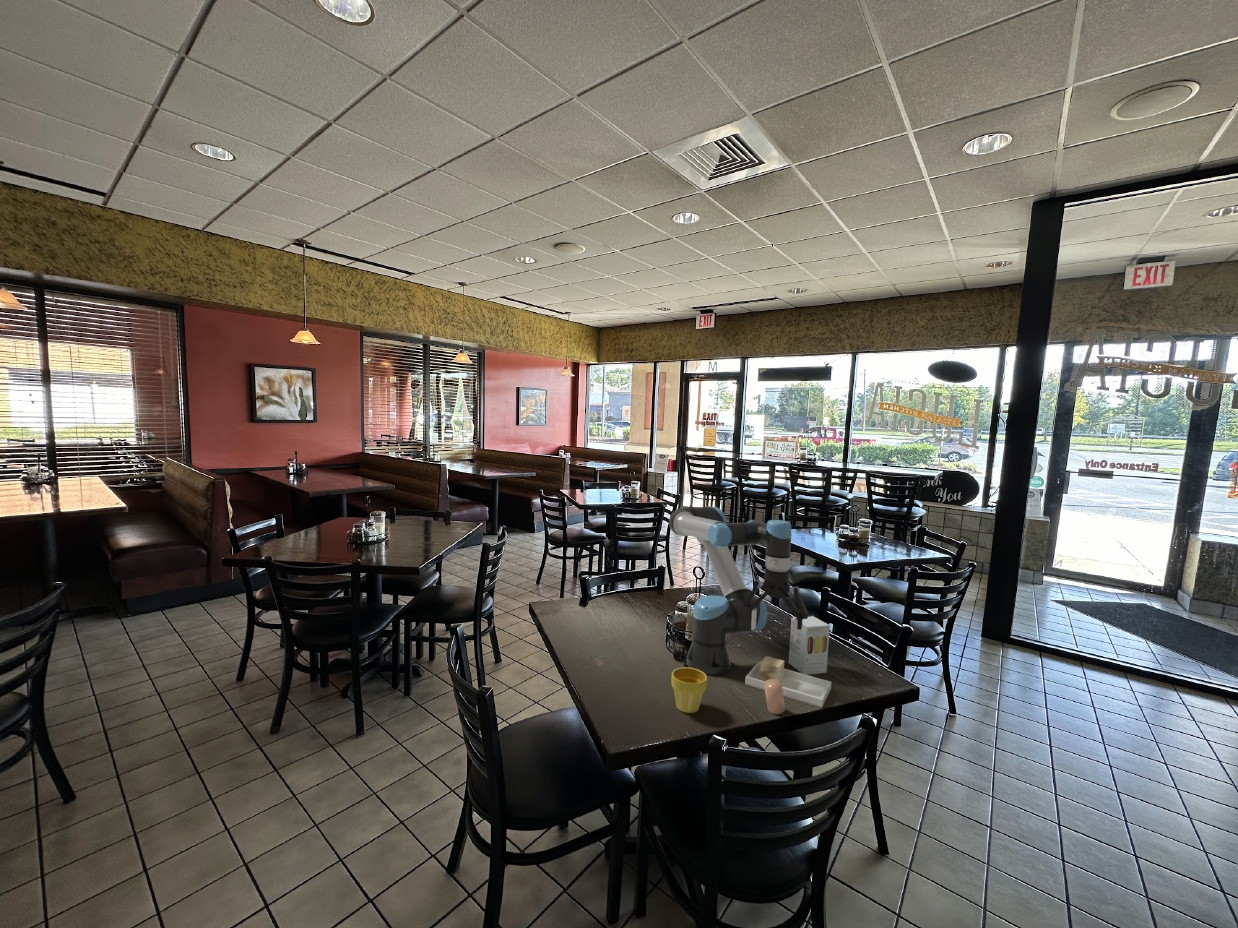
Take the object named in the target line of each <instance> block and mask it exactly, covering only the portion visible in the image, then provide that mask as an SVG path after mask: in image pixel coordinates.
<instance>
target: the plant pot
mask: <svg viewBox="0 0 1238 928" xmlns="http://www.w3.org/2000/svg"><path fill="white" fill-rule="evenodd" d="M670 677H671V682H670V683H671V686H672V688H673V692H674V698H675V705H676V709H678V710H679V711H681V712H682V713H686V714H694V713H697V712H698V711H699V710H700V706H701V702H702V699H703V694H704V692H705V691H706V690H707V687H708V686H707V685H708V676H707V674H705V673H704V672H702V671H700V670H698V669H695V668H690V667H689V666H688V667H684V666H683V667H677V668H676V669H674V670H673V671H672V672H671V676H670Z"/></svg>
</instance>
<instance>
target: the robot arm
mask: <svg viewBox="0 0 1238 928" xmlns="http://www.w3.org/2000/svg"><path fill="white" fill-rule="evenodd" d="M766 522H767V523H766ZM766 522H763V521H760V520H754V519H750V520H749V521H747V522H727V518H726V515H725V513H724V512H723V510H722V509H721V508H719V507H717V506H711V505H706V506H687V507H686V506H684V507H679V508H677V509H676V510H674V511H673V512H672V513H671V514H670V516H669V519H668V525H669V526H668V527H669V528H670V530H671V532H672V533H673V534H675V535H678V536H681V537H688V536H689V537H694V538H696V540H697V542H698V543H699V544H700V545H702V546H703V547H704V550H705V552H706V555H707V557H708V560H709V562H710V565H711V567H712V571H713V572H714V575H715V577H716V579H717V582H718V584H719V587H720V590H721V593H722V595H705V596H702V597H700V598H698V599H697V600H696V601H695V602H694V607H693V614H692V615H693V621H692V623H693V624H692V641H691V644H690V648H689V650H688V652H687V654H686V655H687V656H686V665H687V666H688V667H689V668H695V669H698V670H700V671H702V672H704V673H705V674H706V675H709V676H716V675H717V676H718V675H723V674H726V673H728V672H730V670H731V664H732V662H731V658H730V654H729V650H728V646H727V640H728V638H727V637H728V636H729V635H731V636H732V635H738V634H739V635H740V634H752V633H755V632H759V631H761V630H763V629H764V628H765V626H766V624H767V620H768V619H767V618H768V609H767V605H766V603H765V601H764V599H765V598H766V597H767V596H769V597H770V598H772V599H773V598H775V599H778V600H780V599H782V600H783V602H785V603H786V605H787V607H789V609H790V610H791V611H792V614H794V616H795V618H796V619H795V626H794V640H797V639H798V633H799V630H801V628H802V621H803V619H807V618H808V617H810V614H809V612H808V609H807V608H806V605H805V603H804V600H803V598H802V595H801V593H800V592H801V591H800V587H799V586H790V571H789V570H790V569H791V567H790V566H791V548H792V547H791V546H792V536H793V535H792V524H791V523H790V522H789V521H786V520H781V519H770V520H768V521H766ZM752 545H753V546H755V545H756V546H757V545H759V546H762V547H764V548H765V559H764V560H765V563H764V566H765V569H764V581H761V580H760V579H756V580H754V583H753V587H752V589H751V588H748V587H746V585H745V583H744V580H743V578H742V576H741V573H740V572H739V569H738V567H737V565H736V563H735V560H734V558H733V556H732V553H731V551H730V548H729V547H733V546H734V547H735V546H752ZM762 587H763V589H764V592H763V593H762V594H761V595H760V596H755V595H756V594H757V592H758V591H759V589H760V588H762ZM789 592H791V594H792V595H793V596H794V600H795V601H796V603H794V601H793V600H792V598H791V596H790V594H789ZM796 604H797V605H796ZM797 606H798V607H797Z"/></svg>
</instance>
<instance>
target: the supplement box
mask: <svg viewBox="0 0 1238 928" xmlns="http://www.w3.org/2000/svg"><path fill="white" fill-rule="evenodd" d="M790 619H791V622H790V623H791V624H790V636H789V637H790V638H789V652H788V664H789V665H790V666H792V667H793V668H794V669H795V670H797V671H798V673H802V674H805V675H817V674H826V673H827V672H828V656H829V655H828V654H829V644H830V643H829V641H830V629H831V628H830V625H829V624H827V622H824V621H822V620H821V619H819V618H817V617H815V616H813V615H811V616H809V617H808V618H807V619H803V621H802V628H801V630H799V633H798V639H797V640H794V626H795V619H796V617H791V618H790Z"/></svg>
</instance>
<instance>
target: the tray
mask: <svg viewBox="0 0 1238 928" xmlns="http://www.w3.org/2000/svg"><path fill="white" fill-rule="evenodd" d="M760 664H761V661H758V662H757V663H756V664H755V666H753V667H752V668H751V669H750V671H749V672H748V673H747V674H746V675H745V679H744V680H745V681H744V685H746V686H748V687H752V688H755V689H758V690H761V691H764V692H765V688H764V682H765V681H762V680H760ZM781 683H782V689H783V697H784V698H788V699H791V700H792V701H793V700H794V701H796V702H800V703H803V704H806V705H809V706H812V707H815V708H820V709H823V707H824V704H825V702H826V700H827V699H828V696H829V694H830V692H831V690H832V681H830V680H827V679H822V678H819V677H815V676H813V675H810V674H808V675H805V674H802V673H801V672H799V671H798V672H797V671H794V670H790V669H787V668H784V676H783V680H782V681H781Z"/></svg>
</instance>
